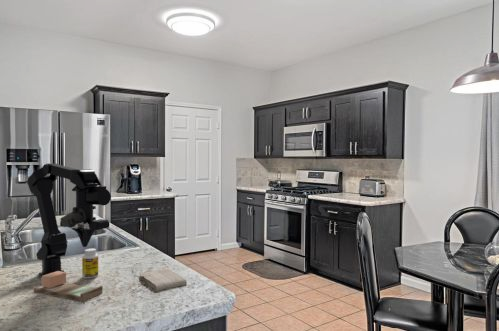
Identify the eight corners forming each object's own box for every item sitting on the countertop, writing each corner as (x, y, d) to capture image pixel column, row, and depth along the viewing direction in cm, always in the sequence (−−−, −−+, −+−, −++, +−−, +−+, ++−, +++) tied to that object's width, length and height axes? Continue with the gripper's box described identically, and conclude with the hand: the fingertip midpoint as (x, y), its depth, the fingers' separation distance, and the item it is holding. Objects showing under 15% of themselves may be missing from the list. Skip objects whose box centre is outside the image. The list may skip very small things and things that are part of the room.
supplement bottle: (83, 280, 132) (83, 252, 132) (81, 276, 137) (81, 249, 137) (99, 277, 136) (99, 250, 135) (96, 273, 140) (96, 247, 140)
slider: (41, 286, 121) (41, 276, 121) (57, 280, 126) (57, 270, 126) (50, 288, 119) (50, 277, 119) (66, 282, 125) (65, 272, 125)
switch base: (33, 291, 121) (33, 284, 121) (55, 283, 128) (55, 277, 128) (82, 301, 112) (82, 294, 112) (102, 292, 120) (102, 286, 120)
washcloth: (166, 273, 142) (166, 265, 142) (188, 285, 128) (188, 277, 128) (136, 279, 135) (136, 271, 135) (156, 293, 120) (156, 284, 120)
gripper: (46, 204, 128) (46, 249, 128) (85, 207, 120) (85, 254, 121) (73, 201, 138) (73, 242, 138) (110, 204, 131) (110, 247, 131)
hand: (84, 246), depth 132 cm, fingers closed
